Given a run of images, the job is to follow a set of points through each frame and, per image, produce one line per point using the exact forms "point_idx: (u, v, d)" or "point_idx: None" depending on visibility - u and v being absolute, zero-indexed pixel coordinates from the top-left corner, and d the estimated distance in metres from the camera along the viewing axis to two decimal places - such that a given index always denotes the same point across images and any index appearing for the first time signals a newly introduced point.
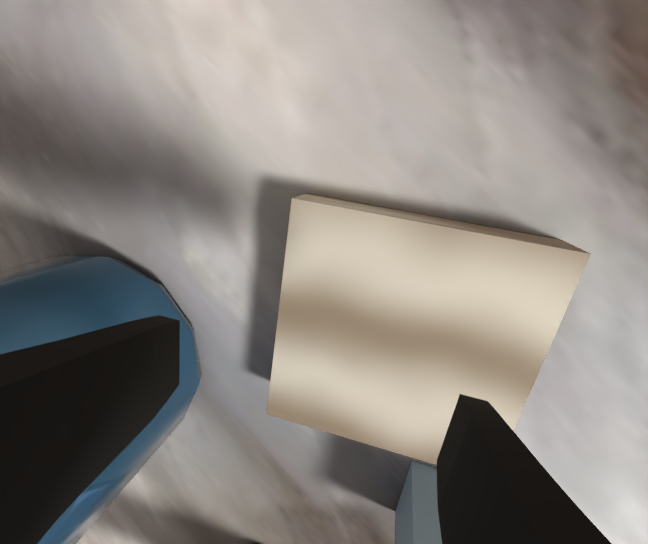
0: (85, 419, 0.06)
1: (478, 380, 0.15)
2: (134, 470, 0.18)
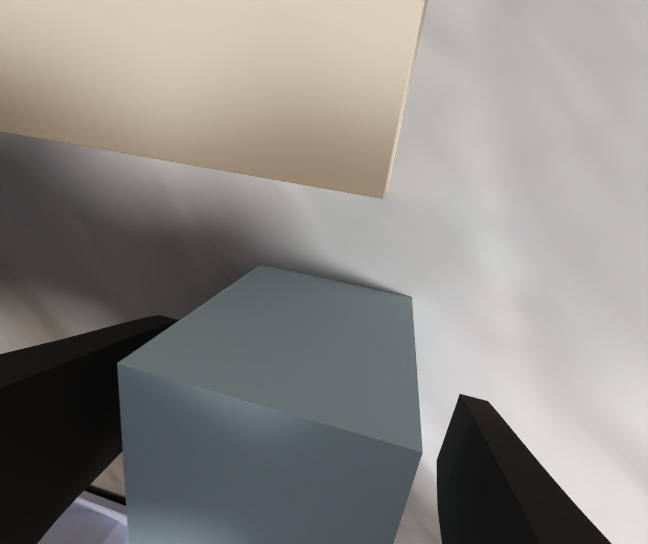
0: (85, 419, 0.06)
1: None
2: None
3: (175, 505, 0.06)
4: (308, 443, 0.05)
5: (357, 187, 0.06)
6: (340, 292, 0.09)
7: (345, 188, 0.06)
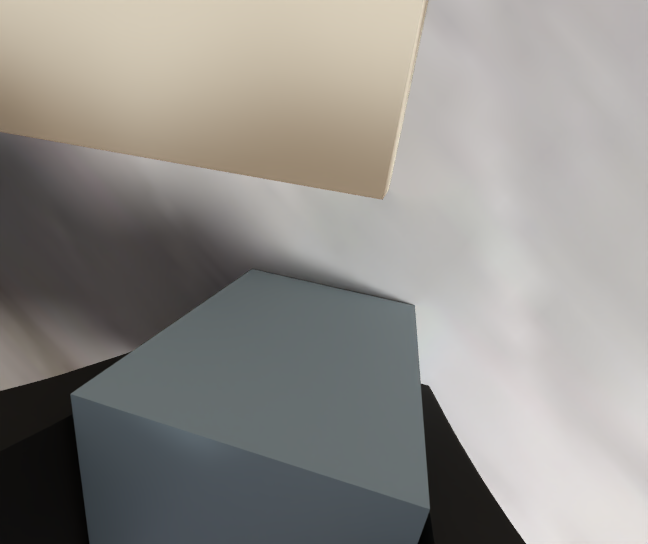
0: None
1: None
2: None
3: None
4: (293, 492, 0.04)
5: (354, 186, 0.06)
6: (336, 301, 0.08)
7: (341, 188, 0.06)
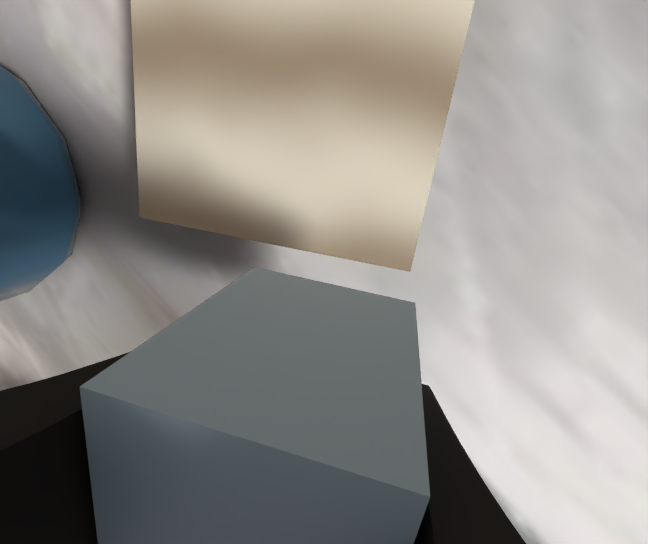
0: None
1: (381, 111, 0.12)
2: None
3: (151, 542, 0.05)
4: (297, 481, 0.04)
5: (398, 266, 0.13)
6: (338, 298, 0.08)
7: (391, 266, 0.13)
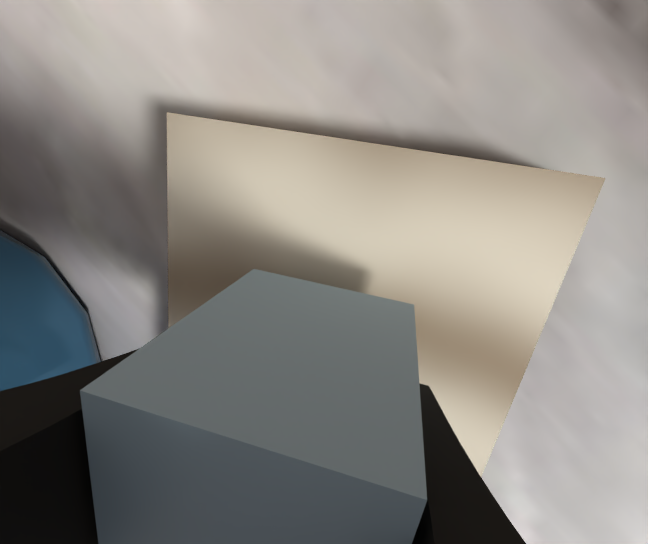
0: None
1: (441, 377, 0.11)
2: None
3: (151, 543, 0.05)
4: (295, 485, 0.04)
5: None
6: (337, 300, 0.08)
7: None
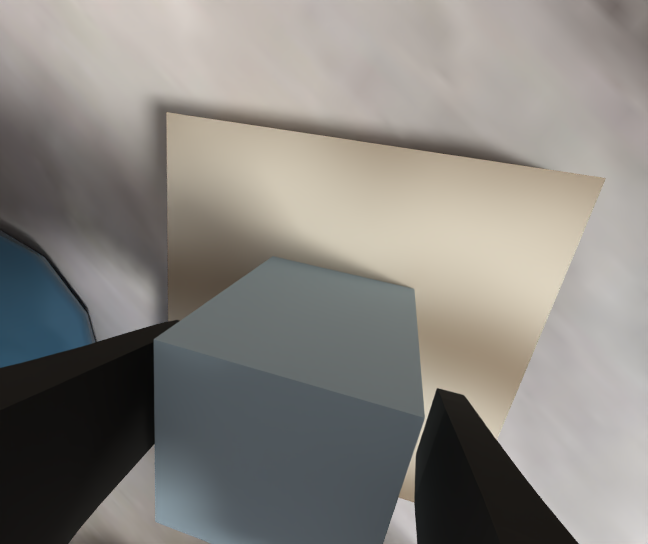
0: (107, 427, 0.06)
1: (442, 377, 0.11)
2: None
3: (201, 469, 0.06)
4: (324, 410, 0.05)
5: None
6: (347, 283, 0.10)
7: None
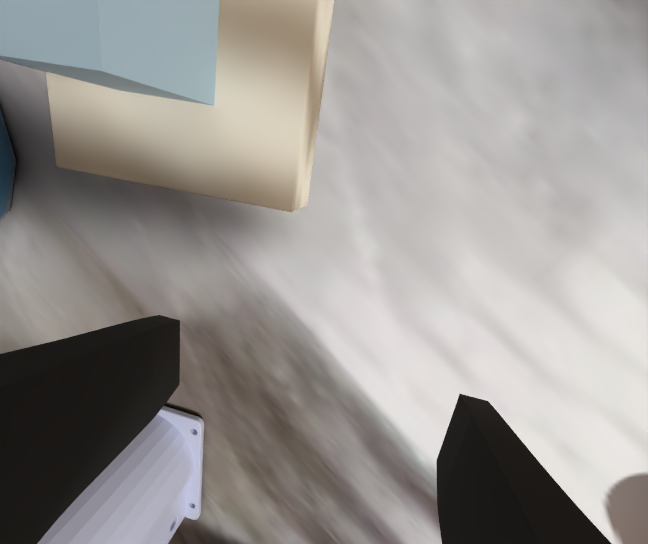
0: (85, 419, 0.06)
1: (253, 59, 0.13)
2: None
3: None
4: None
5: (280, 207, 0.14)
6: None
7: (275, 207, 0.14)
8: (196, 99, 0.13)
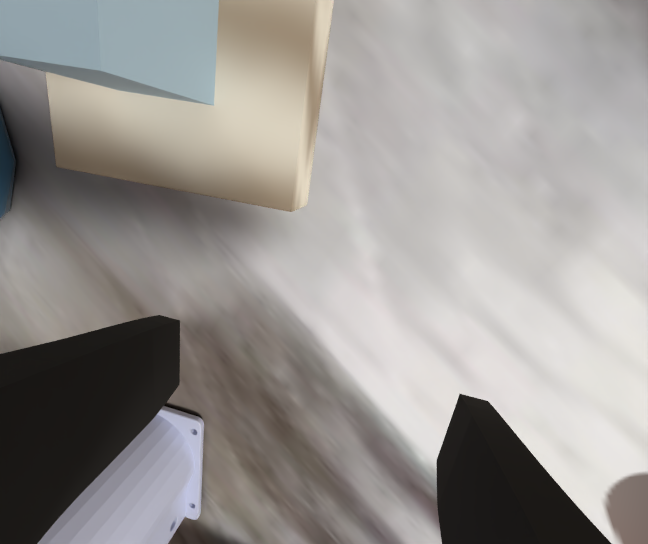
0: (85, 419, 0.06)
1: (253, 59, 0.13)
2: None
3: None
4: None
5: (280, 206, 0.14)
6: None
7: (275, 207, 0.14)
8: (196, 99, 0.13)
